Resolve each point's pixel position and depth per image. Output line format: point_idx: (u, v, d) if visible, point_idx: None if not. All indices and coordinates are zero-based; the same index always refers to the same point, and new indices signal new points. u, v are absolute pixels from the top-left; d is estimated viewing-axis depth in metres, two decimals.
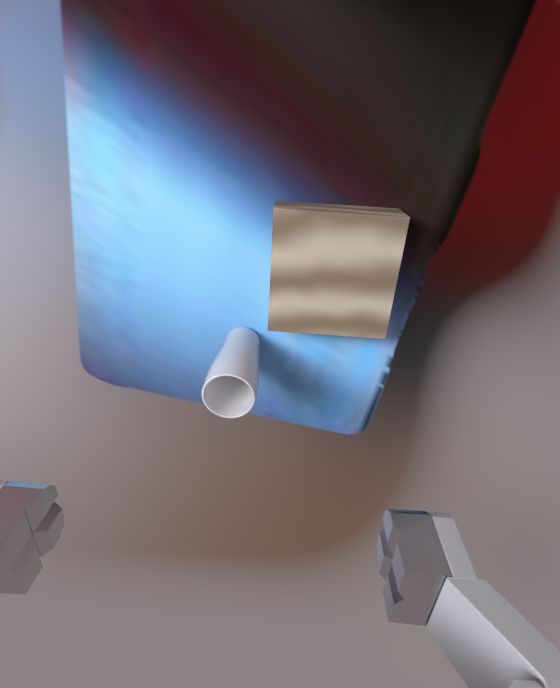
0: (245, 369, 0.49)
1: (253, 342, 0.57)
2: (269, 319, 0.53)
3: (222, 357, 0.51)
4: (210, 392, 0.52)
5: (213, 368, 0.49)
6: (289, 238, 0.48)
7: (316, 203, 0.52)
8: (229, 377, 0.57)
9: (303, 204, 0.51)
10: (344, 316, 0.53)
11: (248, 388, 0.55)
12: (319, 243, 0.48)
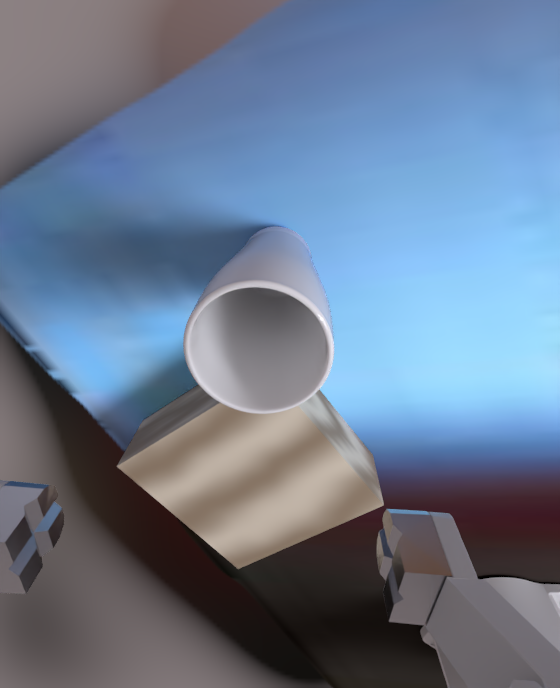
0: None
1: None
2: None
3: None
4: None
5: None
6: (340, 491, 0.33)
7: None
8: None
9: None
10: (191, 457, 0.32)
11: None
12: (301, 505, 0.34)
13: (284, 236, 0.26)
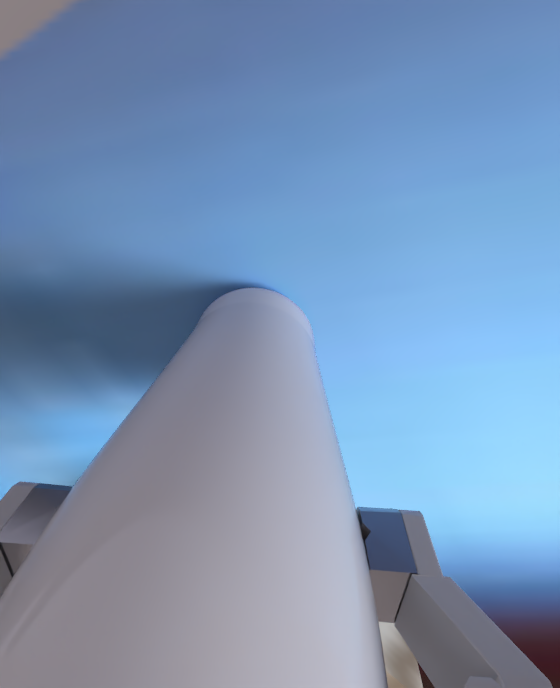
0: None
1: None
2: None
3: None
4: (270, 543, 0.06)
5: None
6: None
7: None
8: None
9: None
10: None
11: None
12: None
13: (263, 323, 0.13)
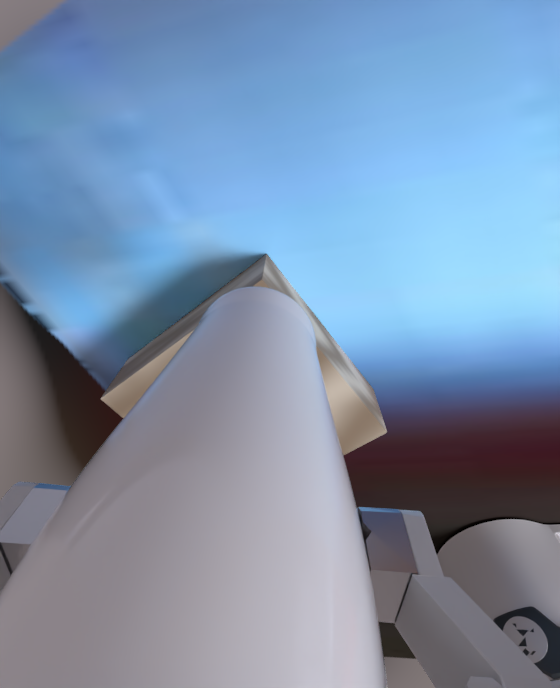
0: None
1: None
2: None
3: None
4: (270, 529, 0.06)
5: None
6: (341, 418, 0.31)
7: None
8: None
9: None
10: None
11: None
12: None
13: (264, 320, 0.14)
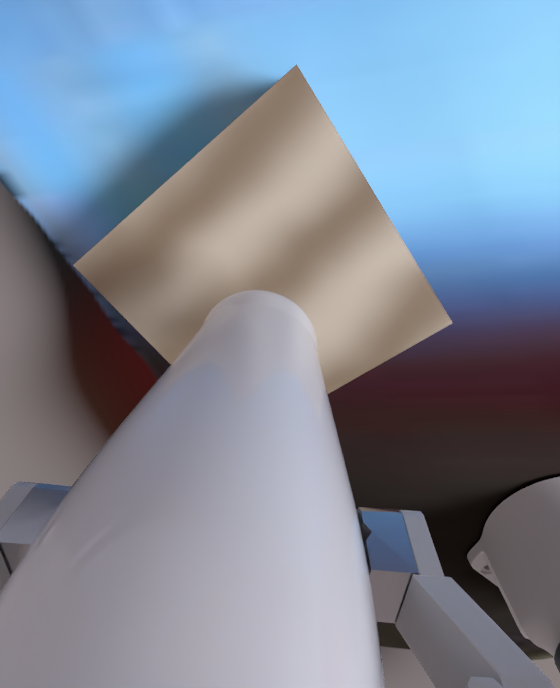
0: None
1: None
2: (314, 101, 0.19)
3: None
4: (269, 529, 0.06)
5: None
6: (392, 300, 0.23)
7: None
8: None
9: None
10: (179, 244, 0.22)
11: None
12: (335, 327, 0.24)
13: (266, 323, 0.14)
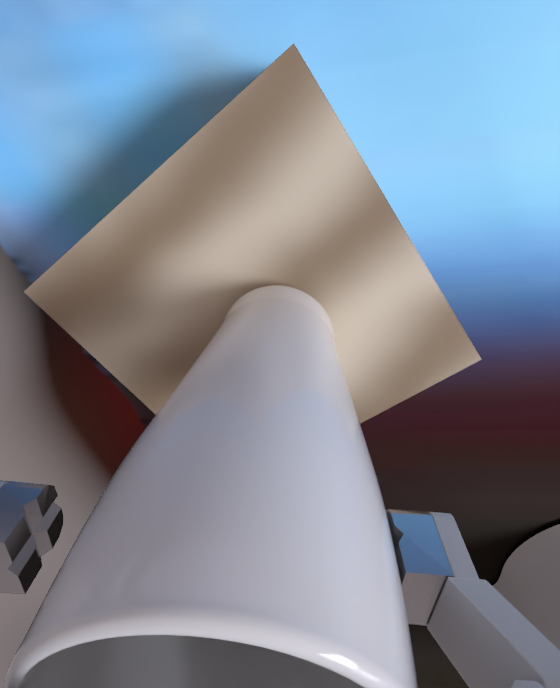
0: None
1: None
2: (316, 90, 0.15)
3: None
4: None
5: None
6: (410, 332, 0.19)
7: None
8: None
9: None
10: (152, 267, 0.18)
11: None
12: (341, 364, 0.20)
13: (289, 316, 0.14)
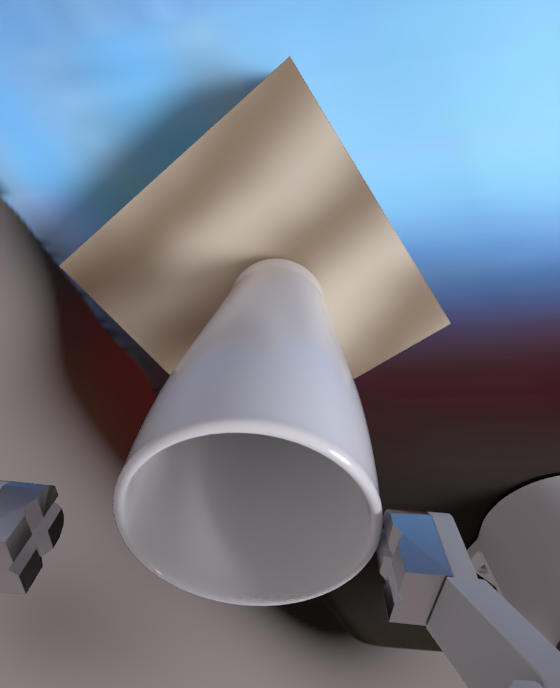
0: None
1: None
2: (308, 94, 0.18)
3: None
4: None
5: None
6: (389, 300, 0.23)
7: None
8: None
9: None
10: (170, 244, 0.22)
11: None
12: None
13: (288, 279, 0.18)
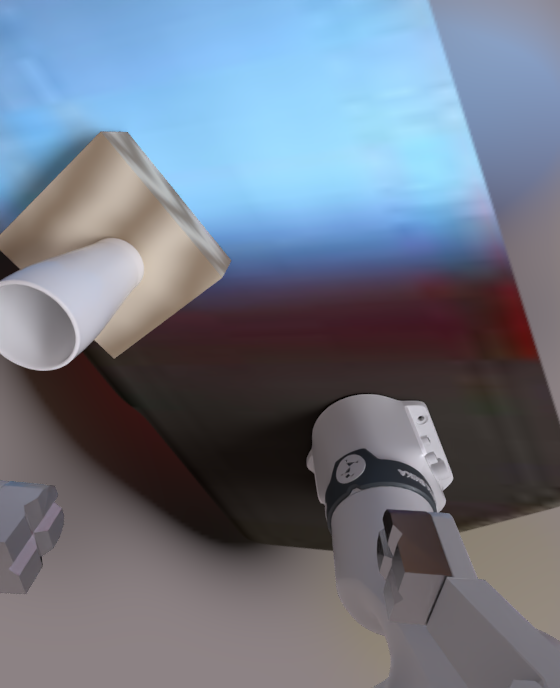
0: None
1: None
2: (114, 150, 0.35)
3: (104, 325, 0.30)
4: (59, 276, 0.27)
5: (95, 325, 0.28)
6: (183, 263, 0.39)
7: None
8: None
9: None
10: (53, 230, 0.38)
11: (31, 289, 0.31)
12: (154, 280, 0.40)
13: (101, 246, 0.34)
